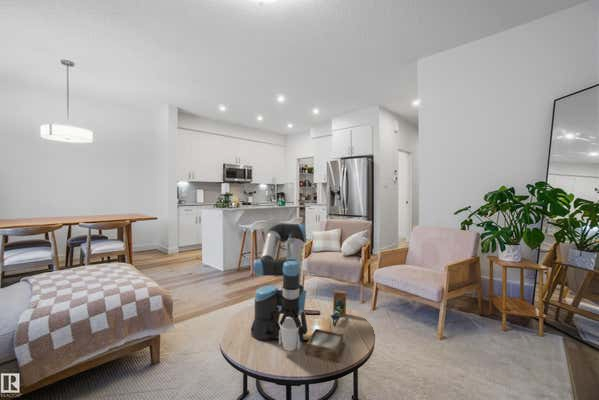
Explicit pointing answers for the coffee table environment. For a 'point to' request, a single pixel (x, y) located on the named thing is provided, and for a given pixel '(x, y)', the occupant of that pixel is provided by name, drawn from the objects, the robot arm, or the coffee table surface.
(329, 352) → the brown box
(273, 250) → the robot arm
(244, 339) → the coffee table surface
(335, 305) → the figurine
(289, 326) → the cup
